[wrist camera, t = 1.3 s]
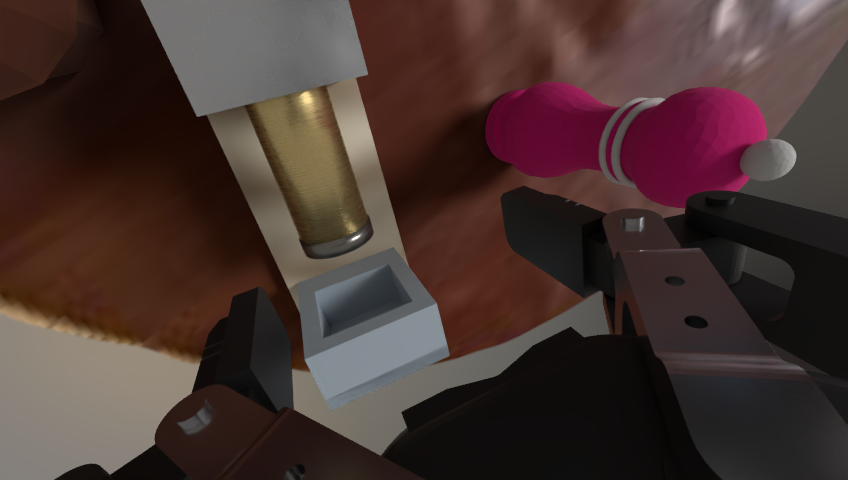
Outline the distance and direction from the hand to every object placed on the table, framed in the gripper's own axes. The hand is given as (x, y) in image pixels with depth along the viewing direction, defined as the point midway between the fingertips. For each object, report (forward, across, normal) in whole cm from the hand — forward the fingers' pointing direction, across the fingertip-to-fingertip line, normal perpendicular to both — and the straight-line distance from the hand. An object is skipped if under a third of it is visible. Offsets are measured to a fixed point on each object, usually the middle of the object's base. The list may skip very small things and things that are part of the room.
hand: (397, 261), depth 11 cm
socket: (+18, +2, +10) cm, 21 cm away
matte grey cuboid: (+19, +1, -8) cm, 20 cm away
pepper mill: (+19, -17, +2) cm, 25 cm away
